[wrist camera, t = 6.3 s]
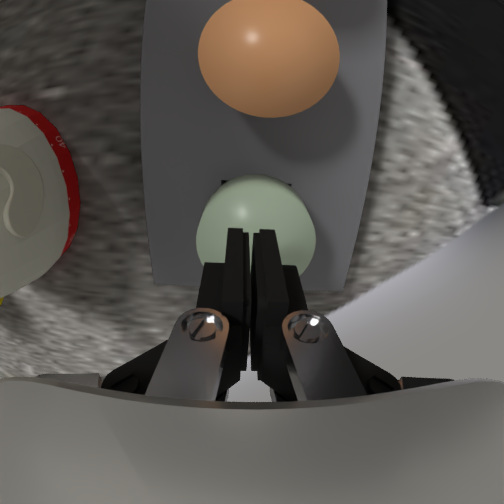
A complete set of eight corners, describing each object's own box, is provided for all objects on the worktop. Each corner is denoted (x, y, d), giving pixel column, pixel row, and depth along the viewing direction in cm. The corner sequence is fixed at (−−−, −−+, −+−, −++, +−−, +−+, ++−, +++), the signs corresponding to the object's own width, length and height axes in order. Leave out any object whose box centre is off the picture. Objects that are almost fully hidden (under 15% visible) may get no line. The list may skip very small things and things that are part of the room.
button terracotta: (216, 18, 12) (202, -10, 8) (315, 26, 12) (343, 2, 8) (211, 108, 14) (195, 115, 10) (308, 114, 15) (333, 124, 10)
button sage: (209, 157, 16) (194, 185, 12) (303, 162, 16) (324, 192, 12) (209, 240, 19) (198, 290, 14) (293, 244, 19) (305, 294, 14)
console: (178, -93, 8) (168, -114, 5) (364, -78, 8) (380, -95, 6) (164, 259, 21) (154, 284, 18) (332, 266, 21) (342, 291, 19)
